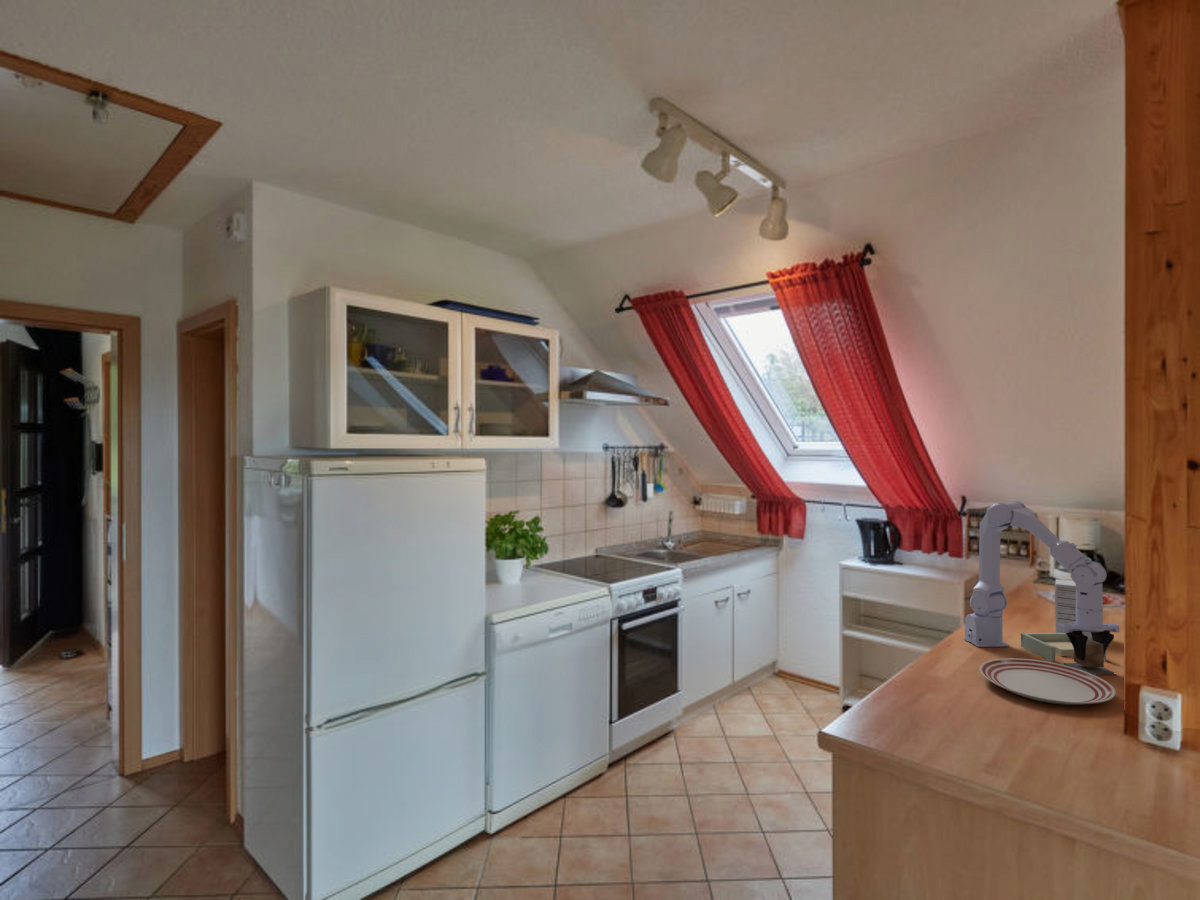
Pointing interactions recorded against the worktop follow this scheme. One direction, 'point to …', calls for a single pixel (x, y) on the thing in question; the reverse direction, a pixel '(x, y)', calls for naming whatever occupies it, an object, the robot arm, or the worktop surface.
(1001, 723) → the worktop surface
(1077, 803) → the worktop surface
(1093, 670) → the mat
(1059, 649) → the crate
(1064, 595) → the supplement box
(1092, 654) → the block
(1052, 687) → the dinner plate
